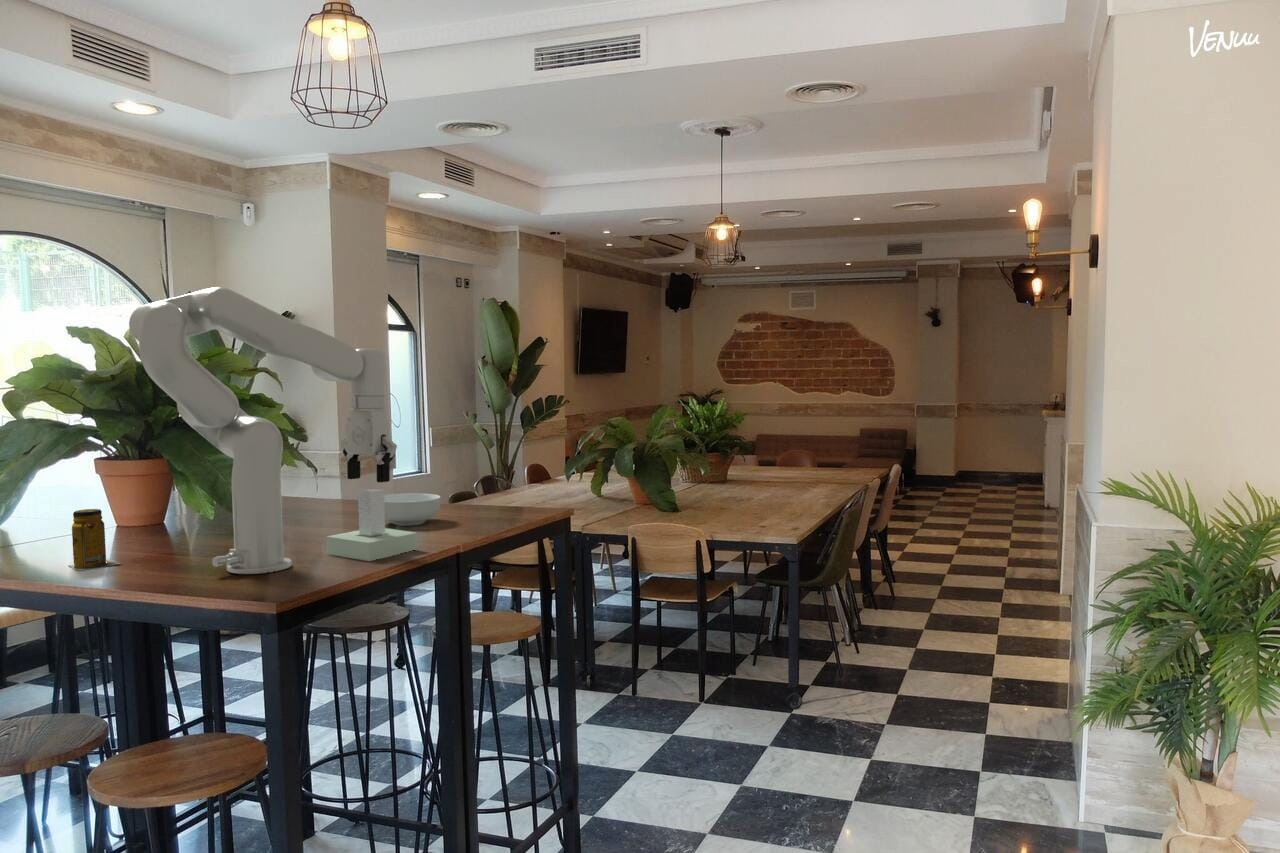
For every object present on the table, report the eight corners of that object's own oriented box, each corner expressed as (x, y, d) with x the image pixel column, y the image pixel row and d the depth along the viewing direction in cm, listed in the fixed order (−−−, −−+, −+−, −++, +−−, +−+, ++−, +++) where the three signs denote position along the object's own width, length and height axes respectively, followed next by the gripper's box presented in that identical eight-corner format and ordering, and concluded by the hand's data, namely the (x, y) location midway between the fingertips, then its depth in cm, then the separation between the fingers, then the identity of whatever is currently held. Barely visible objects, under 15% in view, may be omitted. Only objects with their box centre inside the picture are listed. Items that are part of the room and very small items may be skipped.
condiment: (68, 566, 205) (65, 510, 204) (112, 560, 210) (109, 505, 209) (77, 571, 199) (74, 514, 198) (121, 565, 205) (119, 509, 204)
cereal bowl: (425, 529, 244) (424, 502, 244) (364, 528, 248) (364, 500, 247) (451, 518, 261) (450, 492, 260) (394, 517, 264) (393, 491, 264)
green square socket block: (369, 561, 207) (368, 542, 206) (327, 554, 214) (326, 536, 214) (417, 550, 218) (417, 532, 218) (376, 543, 226) (375, 526, 226)
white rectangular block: (371, 554, 214) (370, 492, 213) (359, 552, 216) (358, 491, 215) (385, 551, 217) (384, 490, 216) (373, 549, 219) (372, 488, 218)
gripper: (329, 403, 216) (329, 479, 217) (381, 405, 206) (381, 484, 207) (355, 402, 222) (356, 476, 223) (407, 404, 212) (407, 481, 213)
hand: (368, 480), depth 215 cm, fingers open, 9 cm apart
